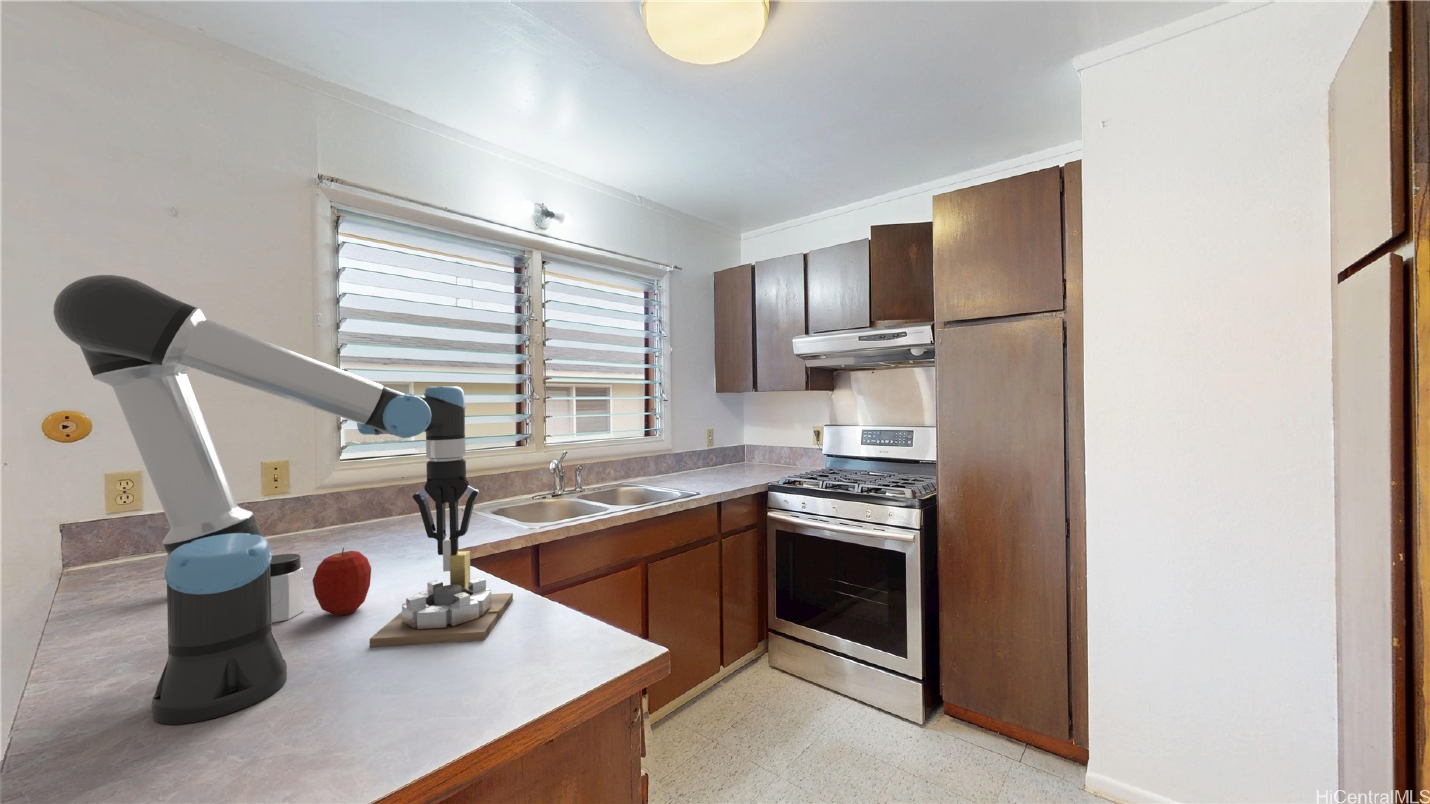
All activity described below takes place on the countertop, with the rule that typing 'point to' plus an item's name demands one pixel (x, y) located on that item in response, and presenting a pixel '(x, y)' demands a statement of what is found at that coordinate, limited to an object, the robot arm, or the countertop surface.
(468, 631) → the board
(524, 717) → the countertop surface
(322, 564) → the apple
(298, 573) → the jar
